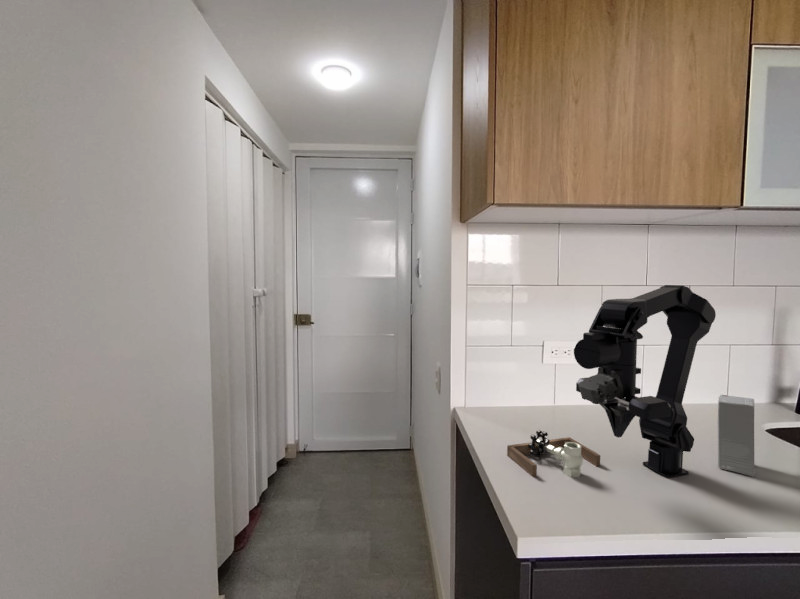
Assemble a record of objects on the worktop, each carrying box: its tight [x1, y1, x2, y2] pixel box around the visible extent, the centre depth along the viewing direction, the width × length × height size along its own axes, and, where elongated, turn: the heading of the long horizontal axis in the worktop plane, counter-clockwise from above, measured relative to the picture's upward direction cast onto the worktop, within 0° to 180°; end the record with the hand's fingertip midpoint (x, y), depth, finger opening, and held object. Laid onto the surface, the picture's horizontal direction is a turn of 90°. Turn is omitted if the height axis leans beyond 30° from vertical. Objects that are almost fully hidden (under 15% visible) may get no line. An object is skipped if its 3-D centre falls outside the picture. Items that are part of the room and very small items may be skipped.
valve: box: [528, 429, 584, 478], centre depth 92 cm, size 7×7×12 cm
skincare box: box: [716, 394, 756, 478], centre depth 92 cm, size 8×7×16 cm
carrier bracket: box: [506, 436, 601, 477], centre depth 95 cm, size 18×10×2 cm, turn 106°
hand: (617, 436), depth 82 cm, fingers closed
